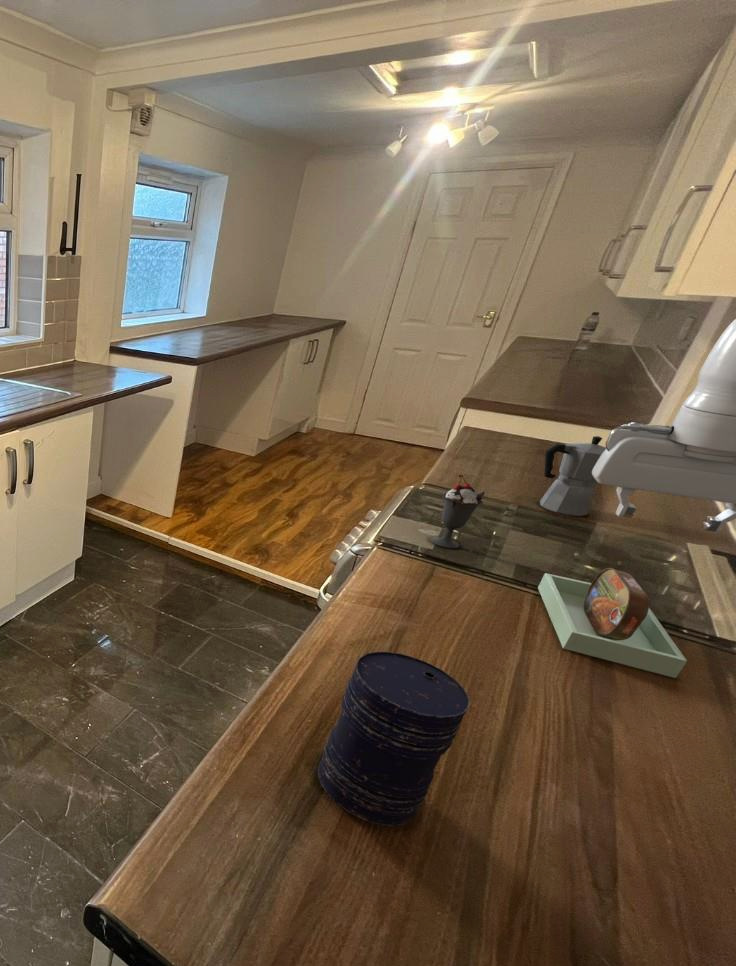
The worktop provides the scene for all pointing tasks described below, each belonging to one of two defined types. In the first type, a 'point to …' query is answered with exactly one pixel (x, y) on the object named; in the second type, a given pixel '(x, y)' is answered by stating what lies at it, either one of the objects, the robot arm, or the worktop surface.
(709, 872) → the worktop surface
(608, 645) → the tray
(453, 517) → the sundae
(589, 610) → the tin
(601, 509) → the worktop surface
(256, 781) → the worktop surface
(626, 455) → the robot arm
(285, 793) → the worktop surface
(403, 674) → the navy ribbed drum
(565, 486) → the coffeepot
